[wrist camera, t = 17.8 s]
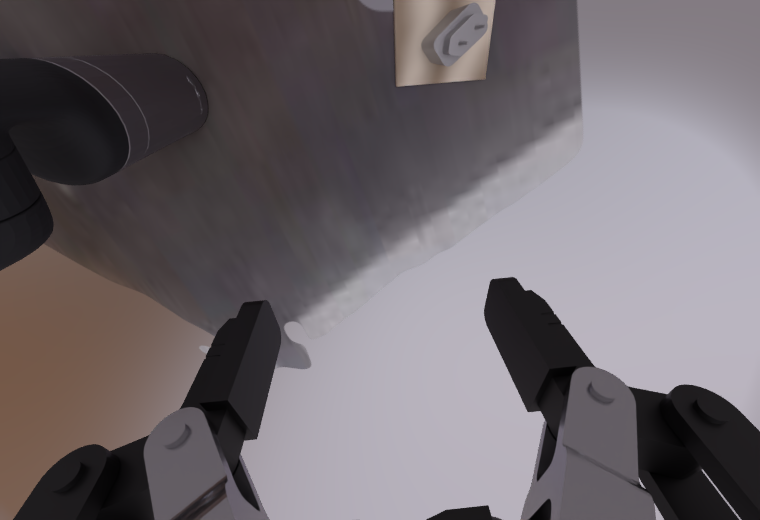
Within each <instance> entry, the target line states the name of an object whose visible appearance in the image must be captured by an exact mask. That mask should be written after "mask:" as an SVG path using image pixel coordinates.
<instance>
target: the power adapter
mask: <svg viewBox="0 0 760 520" xmlns="http://www.w3.org/2000/svg"><path fill="white" fill-rule="evenodd" d="M487 21H488V16H487V15H484V14H483V12H482V10H481V8H480V6H479V5H478V4H477V3H470V4H468V5H465V6H462V7H460V8H457V9H454V10H452V11H450V12H449V13H448V14H447V15H446V16H445V17H444V18H443V19H442V20H441V21H440V23H439V24H438V25H437V26H436V27H435V28H434V29H433V30H432V31H431V32H430V33H429V34H428V35H427V36H426V37H425V38H424V39H423V41H422V43H421V47H422V50H423V51H424V53H425V55H426V56H427V58H428V59H429V61H430V62H431V63H434V64H439V65H443V66H451V65H453V64H454V63H455V62H456V61H457V60H458V59H459V58H460V57H461V56H462V55H463V54H465V53H466V52H467V51H468V50H469V49H470V48H471V47H472V46H473V45H474V44H475V43H476V42H477V41H478V40H479V39H480V38H481V37H482V36H483V35H484V34H485V33H486V31H487V28H488V23H487Z"/></svg>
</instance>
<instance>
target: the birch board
mask: <svg viewBox="0 0 760 520" xmlns="http://www.w3.org/2000/svg"><path fill="white" fill-rule="evenodd" d="M470 3H477V4H478V5H479V6H480V8H481V10H482V12H483V14H484V15H487V16H488V21H487V23H488V28H487V31H486V33H485V34H484V35H483V36H482V37H481V38H480V39H479V40H478V41H477V42H476V43H475V44H474V45H473V46H472V47H471V48H470V49H469V50H468V51H467V52H466V53H465V54H463V55H462V56H461V57H460V58H459V59H458V60H457V61H456V62H455V63H454V64H453V65H451V66H443V65H439V64H434V63H431V62H430V61H429V59H428V58H427V56H426V55H425V53H424V51H423V50H422V47H421V43H422V41H423V39H424V38H425V37H426V36H427V35H428V34H429V33H430V32H431V31H432V30H433V29H434V28H435V27H436V26H437V25H438V24H439V23H440V21H441V20H442V19H443V18H444V17H445V16H446V15H447V14H448V13H449V12H450V11H452V10H454V9H457V8H460V7H462V6H465V5H468V4H470ZM393 6H394V43H395V78H396V87H399V86H410V85H422V84H434V83H446V82H458V81H470V80H482V79H485V77H486V69H487V61H488V54H489V46H490V38H491V31H492V23H493V15H494V8H495V0H393Z"/></svg>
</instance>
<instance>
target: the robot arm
mask: <svg viewBox="0 0 760 520" xmlns="http://www.w3.org/2000/svg"><path fill="white" fill-rule="evenodd" d="M207 113H208V102H207V98H206V95H205V92H204V90H203V88H202V86H201V84H200V82H199V81H198V79H197V78H196V77H195V75H194V74H193V73H192V72H191V71H190V70H189V69H188V68H187V67H185V66H184V65H183V64H182V63H180V62H179V61H177V60H175V59H173V58H171V57H168V56H166V55H162V54H122V55H94V56H66V57H45V58H17V59H0V271H1V270H2V269H4V268H6V267H8V266H9V265H12V264H14V263H15V262H17V261H19V260H21V259H23V258H24V257H26V256H27V255H29V254H31V253H32V252H33V251H35V250H36V249H38V248H39V247H40V246H41V245H42V244H43V243H44V242H45V241H46V240H47V239H48V238H49V237H50V235H51V233H52V231H53V225H54V224H53V219H52V215H51V213H50V210H49V207H48V205H47V203H46V201H45V199H44V197H43V195H42V193H41V192H40V189H39V188H38V186H37V184H36V182H35V180H34V179H33V177H32V175H31V174H33V175H35V176H38V177H40V178H43V179H46V180H49V181H52V182H56V183H60V184H67V185H86V184H92V183H96V182H99V181H101V180H103V179H105V178H107V177H109V176H111V175H113V174H115V173H117V172H118V171H120V170H122V169H124V168H126V167H128V166H130V165H131V164H133V163H135V162H137V161H139V160H141V159H142V158H144V157H146V156H148V155H150V154H152V153H154V152H156V151H158V150H160V149H162V148H163V147H165V146H167V145H169V144H171V143H173V142H175V141H177V140H179V139H181V138H183V137H185V136H187V135H188V134H190V133H192V132H194V131H196V130H197V129H199V128H200V127H201V126H202V125H203V124H204V122H205V120H206V118H207ZM484 316H485V321H486V324H487V327H488V329H489V331H490V333H491V335H492V337H493V339H494V341H495V344H496V346H497V348H498V350H499V352H500V354H501V356H502V358H503V360H504V363H505V364H506V367H507V369H508V371H509V373H510V375H511V377H512V380H513V382H514V384H515V386H516V388H517V390H518V392H519V394H520V396H521V398H522V401H523V403H524V405H525V407H526V409H527V411H528V412H534V411H541V412H542V414H543V416H544V418H545V422H544V425H543V429H542V434H541V439H540V444H539V449H538V454H537V459H536V464H535V470H534V475H533V479H532V483H531V487H530V490H529V493H528V495H527V498H526V501H525V504H524V508H523V512H522V516H521V520H656V517H655V507H654V503H655V505H656V506H657V508H658V510H659V511H660V513H661V515H662V516H663V518H664V520H739V519H738V518H737V516H736V515H735V514H734V512H733V511H732V510H731V509H730V507H729V506H728V504H727V503H726V502H725V501H724V500H723V498H722V497H721V495H720V494H719V493H718V491H717V490H716V489H715V487H714V486H713V485H712V484H711V482H710V481H709V480H708V478H707V477H706V476H705V474H704V473H703V472H702V469H703V470H704V471H705V473H706V474H707V475H708V476H709V478H710V479H711V480H712V482H713V483H714V484H715V485H716V487H717V488H718V489H719V491H720V492H721V493H722V495H723V496H724V497H725V499H726V500H727V501H728V502H729V504H730V505H731V506H732V507H733V509H734V510H735V512H736V513H737V514H738V515H739V517H740V518H741V519H742V520H760V431H759V430H758V429H757V428H756V427H755V426H754V425H753V424H752V423H751V422H750V421H749V420H748V419H747V418H746V417H745V416H744V415H743V414H742V413H741V412H740V411H739V410H738V409H737V408H736V407H735V406H733V405H732V404H731V403H730V402H728V401H727V400H725V399H724V398H722V397H721V396H719V395H717V394H715V393H713V392H711V391H709V390H707V389H704V388H701V387H698V386H694V385H679V386H677V387H675V388H674V389H673V390H672V391H671V392H670V393H669V394H663V393H658V392H653V391H647V390H642V389H637V388H632V387H628V386H626V385H625V383H624V382H622V381H621V380H620V379H618V378H617V377H616V376H614V375H613V374H611V373H609V372H607V371H605V370H602V369H599V368H596V367H595V366H594V365H593V364H592V363H591V361H590V360H589V359H588V357H587V356H586V355H585V353H584V352H583V351H582V349H581V348H580V347H579V345H578V344H577V343H576V341H575V340H574V339H573V337H572V336H571V334H570V333H569V332H568V330H567V329H566V328H565V326H564V325H562V324H561V321H560V320H559V319H558V317H557V316H556V315H554V312H553V311H552V309H551V308H550V306H549V305H548V304H547V302H546V301H545V300H544V299H543V298H541V297H540V296H538V295H537V294H536V293H534V292H533V291H532V290H528V291H525V290H524V289H523V288H522V286H521V285H520V283H519V282H518V281H517V279H516V278H514V277H510V278H500V279H492V280H491V282H490V285H489V289H488V294H487V299H486V303H485V309H484ZM280 344H281V331H280V328H279V325H278V323H277V320H276V318H275V315H274V313H273V311H272V308H271V306H270V304H269V302H268V301H267V300H264V301H253V302H245V303H243V305H242V306H241V308H240V311H239V313H238V315H237V318H231V319H229V320H228V321H227V322H226V323H225V324H224V325H223V326H222V327H221V328H220V329H219V330H218V332H217V334H216V336H215V338H214V340H213V343H212V344H211V348H209V351H208V353H207V355H206V359H204V361H203V363H202V365H201V367H200V369H199V371H198V373H197V375H196V378H195V380H194V382H193V384H192V386H191V388H190V390H189V392H188V394H187V397H186V398H185V400H184V403H183V404H182V406H181V408H180V409H179V410H178V411H175V412H173V413H172V414H170V415H168V416H167V417H166V418H164V419H163V420H162V421H161V422H160V423H159V424H158V425H157V426H156V427H155V428H154V430H153V431H152V432H151V434H150V435H148V436H146V437H144V438H141V439H139V440H137V441H134V442H132V443H129V444H127V445H125V446H122V447H120V448H117V449H115V450H112V451H109V450H107V449H105V448H104V447H102V446H100V445H96V444H93V445H87V446H84V447H81V448H78V449H77V450H74V451H72V452H71V453H69V454H68V455H66V456H65V457H63V458H62V459H60V460H59V461H58V462H57V463H56V464H54V465H53V466H52V467H51V468H50V469H49V470H48V471H47V472H46V474H45V475H44V476H43V477H42V478H41V480H40V481H39V482H38V484H37V485H36V487H35V488H34V490H33V491H32V493H31V494H30V496H29V497H28V499H27V500H26V501H25V503H24V505H23V506H22V507H21V509H20V510H19V512H18V513H17V515H16V516H15V518H14V519H13V520H269V518H268V516H267V514H266V512H265V510H264V508H263V506H262V503H261V501H260V499H259V496H258V494H257V491H256V489H255V487H254V484H253V482H252V480H251V478H250V475H249V473H248V470H247V468H246V466H245V463H244V461H243V459H242V456H241V455H240V453H241V449H242V446H243V442H244V440H253V439H257V437H258V433H259V429H260V425H261V421H262V417H263V413H264V409H265V404H266V401H267V397H268V393H269V389H270V385H271V381H272V377H273V373H274V369H275V365H276V361H277V357H278V353H279V349H280ZM639 478H640V480H641V482H642V483H643V485H644V486H645V488H646V489H644V488H643V487H641V485H640V482H639ZM653 501H654V502H653ZM427 520H501V519H499V518H496V517H492V516H491V513H490V510H489V506H479V507H469V508H460V509H451V510H445V511H443V512H441V513H439V514H437V515H435V516H433V517H431V518H429V519H427Z"/></svg>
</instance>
